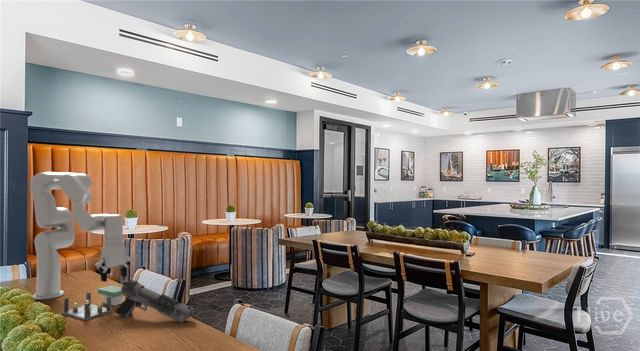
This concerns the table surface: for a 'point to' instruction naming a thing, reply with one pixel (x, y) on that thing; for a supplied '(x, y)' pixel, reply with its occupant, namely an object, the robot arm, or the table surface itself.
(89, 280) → the table surface
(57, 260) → the robot arm
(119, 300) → the riser
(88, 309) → the chassis
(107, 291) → the board
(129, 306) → the firearm
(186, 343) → the table surface
